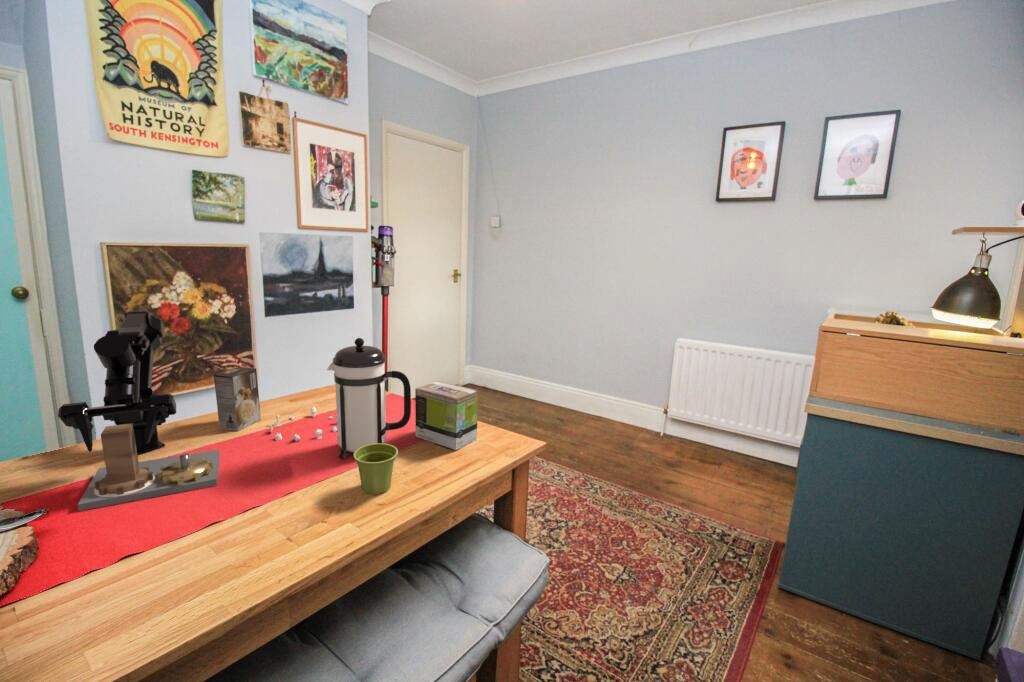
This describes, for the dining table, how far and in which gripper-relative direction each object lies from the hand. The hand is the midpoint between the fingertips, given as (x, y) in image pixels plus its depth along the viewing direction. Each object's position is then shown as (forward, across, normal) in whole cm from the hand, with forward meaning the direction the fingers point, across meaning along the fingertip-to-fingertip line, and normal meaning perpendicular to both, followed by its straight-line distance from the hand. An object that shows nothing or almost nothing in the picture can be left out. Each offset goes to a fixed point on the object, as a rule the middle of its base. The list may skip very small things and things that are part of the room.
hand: (119, 446), depth 96 cm
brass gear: (+6, -11, -7) cm, 14 cm away
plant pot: (+22, -47, +7) cm, 53 cm away
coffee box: (-14, -21, -30) cm, 39 cm away
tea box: (+9, -71, -6) cm, 72 cm away
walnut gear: (+6, 0, -7) cm, 9 cm away
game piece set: (-7, -37, -23) cm, 44 cm away
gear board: (+5, -5, -10) cm, 12 cm away
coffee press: (+7, -50, -8) cm, 51 cm away
